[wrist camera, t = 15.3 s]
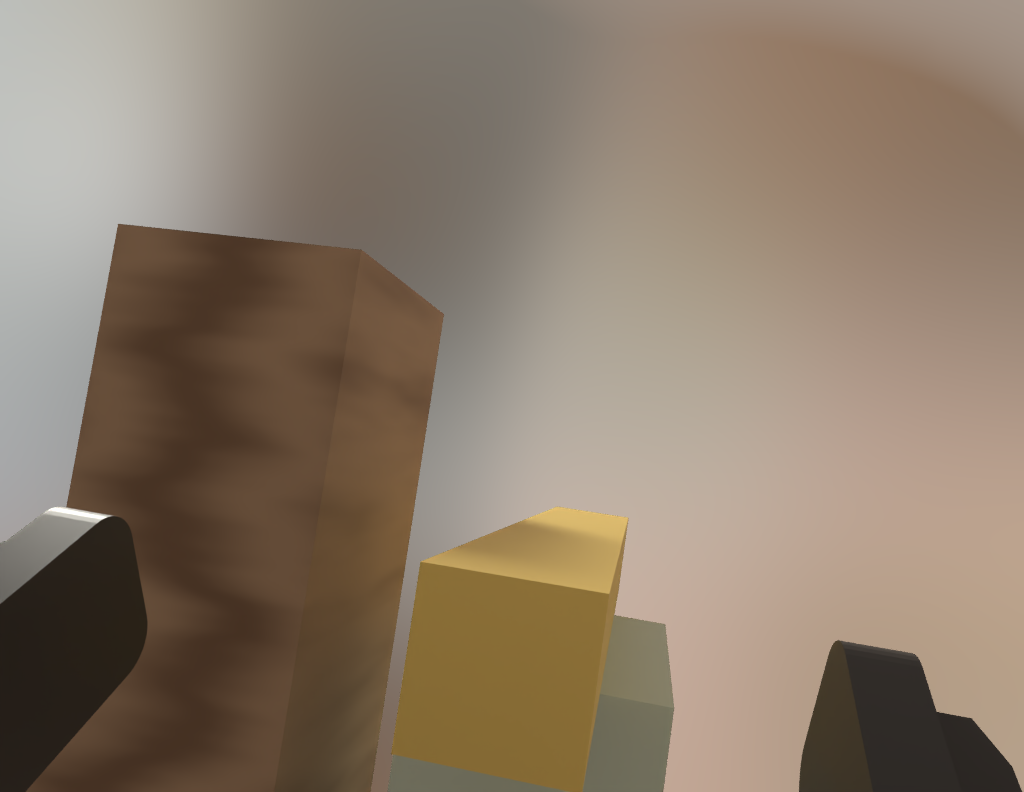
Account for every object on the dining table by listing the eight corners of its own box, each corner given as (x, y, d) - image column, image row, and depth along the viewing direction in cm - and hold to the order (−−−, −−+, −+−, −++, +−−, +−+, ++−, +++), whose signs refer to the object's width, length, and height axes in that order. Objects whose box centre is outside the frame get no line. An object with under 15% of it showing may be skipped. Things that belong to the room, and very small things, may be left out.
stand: (-152, 1383, 23) (67, 210, 25) (121, 1073, 35) (253, 295, 37) (179, 1517, 21) (383, 243, 23) (348, 1143, 33) (472, 321, 35)
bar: (391, 753, 15) (420, 561, 15) (547, 577, 41) (557, 506, 41) (582, 793, 15) (609, 594, 15) (618, 590, 40) (628, 517, 40)
